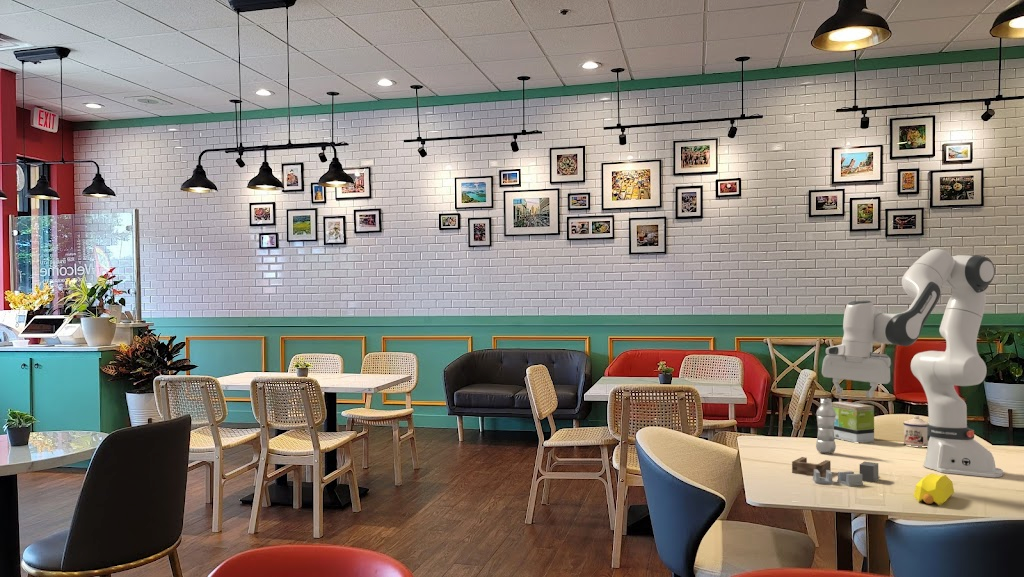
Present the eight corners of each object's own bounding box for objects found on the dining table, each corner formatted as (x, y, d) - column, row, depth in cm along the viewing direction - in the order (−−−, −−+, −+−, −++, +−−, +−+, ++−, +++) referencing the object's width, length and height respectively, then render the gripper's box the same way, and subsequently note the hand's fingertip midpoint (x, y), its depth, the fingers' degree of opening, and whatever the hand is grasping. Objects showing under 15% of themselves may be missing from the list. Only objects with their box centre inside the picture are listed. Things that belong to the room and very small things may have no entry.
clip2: (830, 480, 224) (830, 470, 225) (833, 484, 220) (833, 473, 220) (812, 479, 226) (812, 469, 226) (815, 483, 221) (815, 472, 221)
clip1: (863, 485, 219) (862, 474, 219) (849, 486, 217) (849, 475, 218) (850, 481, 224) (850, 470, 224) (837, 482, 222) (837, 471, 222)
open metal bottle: (818, 450, 273) (818, 397, 274) (837, 453, 269) (837, 398, 270) (814, 453, 268) (813, 398, 269) (833, 455, 264) (833, 400, 265)
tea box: (827, 437, 304) (826, 401, 304) (844, 436, 308) (844, 400, 308) (857, 443, 290) (856, 406, 290) (875, 442, 294) (875, 405, 294)
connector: (881, 477, 231) (881, 461, 231) (873, 482, 223) (873, 466, 223) (867, 475, 233) (867, 459, 233) (859, 480, 225) (859, 464, 225)
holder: (830, 471, 237) (830, 460, 237) (821, 476, 230) (821, 465, 230) (802, 467, 243) (802, 457, 243) (792, 472, 235) (792, 461, 235)
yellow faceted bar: (956, 496, 207) (925, 492, 212) (956, 472, 207) (925, 468, 212) (943, 509, 194) (911, 504, 199) (943, 483, 194) (911, 479, 199)
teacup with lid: (899, 445, 286) (899, 415, 286) (908, 443, 292) (907, 413, 293) (933, 450, 277) (933, 419, 278) (941, 447, 284) (941, 417, 284)
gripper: (895, 354, 225) (892, 399, 224) (829, 349, 240) (827, 391, 240) (887, 353, 221) (884, 399, 220) (820, 348, 236) (818, 391, 235)
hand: (853, 395), depth 230 cm, fingers open, 8 cm apart
